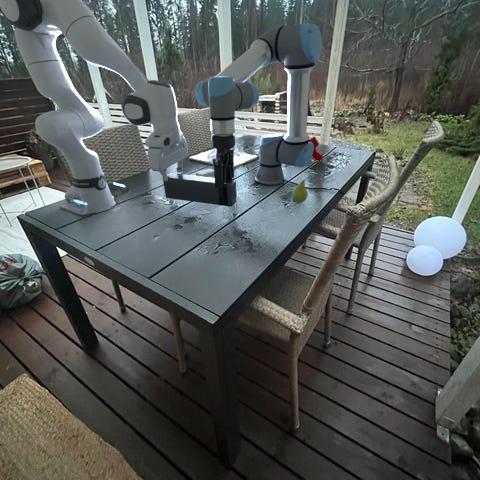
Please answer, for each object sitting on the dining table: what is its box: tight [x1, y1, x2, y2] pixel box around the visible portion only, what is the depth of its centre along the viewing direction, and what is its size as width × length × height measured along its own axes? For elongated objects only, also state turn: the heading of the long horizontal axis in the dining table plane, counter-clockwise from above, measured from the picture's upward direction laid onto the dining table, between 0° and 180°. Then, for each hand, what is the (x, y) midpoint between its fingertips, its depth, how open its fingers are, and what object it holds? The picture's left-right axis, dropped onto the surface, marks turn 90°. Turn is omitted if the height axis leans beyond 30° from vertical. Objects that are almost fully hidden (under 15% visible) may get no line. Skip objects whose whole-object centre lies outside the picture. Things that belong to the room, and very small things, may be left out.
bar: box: [162, 172, 237, 208], centre depth 98 cm, size 26×5×8 cm, turn 72°
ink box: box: [195, 168, 215, 178], centre depth 125 cm, size 8×5×12 cm, turn 135°
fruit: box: [291, 174, 311, 204], centre depth 118 cm, size 7×8×12 cm
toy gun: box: [309, 135, 324, 163], centre depth 171 cm, size 18×4×15 cm
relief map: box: [189, 148, 258, 169], centre depth 177 cm, size 27×35×5 cm
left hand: (173, 175), depth 99 cm, fingers open, 8 cm apart
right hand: (225, 201), depth 97 cm, fingers closed on bar, 5 cm apart
